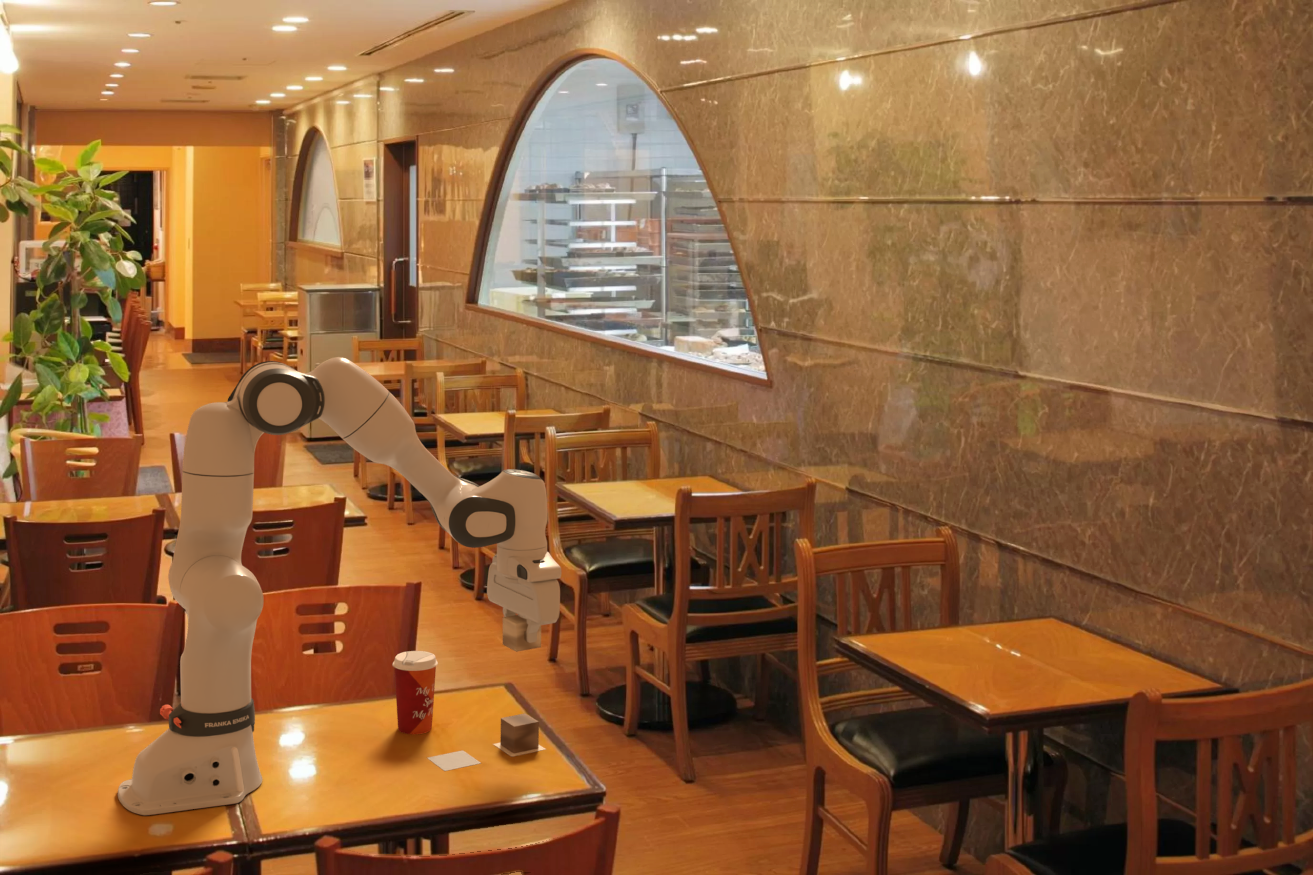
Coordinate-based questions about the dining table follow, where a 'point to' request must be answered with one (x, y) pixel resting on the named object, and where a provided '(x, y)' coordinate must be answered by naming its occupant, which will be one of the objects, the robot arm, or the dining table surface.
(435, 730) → the dining table surface
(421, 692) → the coffee cup
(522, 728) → the walnut block
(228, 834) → the dining table surface
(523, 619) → the maple block
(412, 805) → the dining table surface
